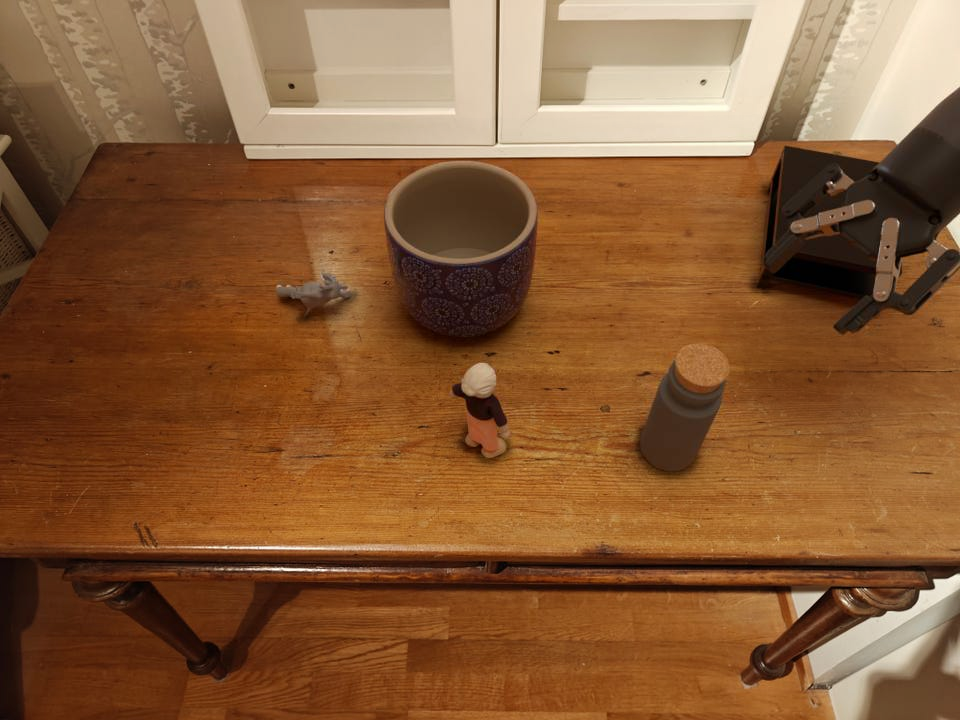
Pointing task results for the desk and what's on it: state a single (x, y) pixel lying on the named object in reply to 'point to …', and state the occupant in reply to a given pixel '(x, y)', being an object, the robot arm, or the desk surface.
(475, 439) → the grandmother figurine
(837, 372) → the desk surface
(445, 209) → the planter
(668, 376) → the bottle
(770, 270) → the robot arm
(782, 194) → the stand
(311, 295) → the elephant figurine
